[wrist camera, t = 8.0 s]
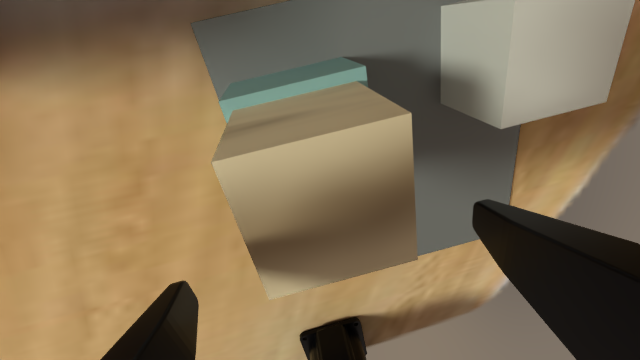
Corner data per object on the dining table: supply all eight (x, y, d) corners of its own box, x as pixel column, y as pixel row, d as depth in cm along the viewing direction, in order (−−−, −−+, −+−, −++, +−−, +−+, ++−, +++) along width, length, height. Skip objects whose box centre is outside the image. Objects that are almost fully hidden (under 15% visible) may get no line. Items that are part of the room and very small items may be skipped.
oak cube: (370, 187, 17) (417, 259, 11) (268, 213, 16) (269, 300, 11) (356, 81, 14) (411, 113, 9) (232, 110, 14) (210, 162, 8)
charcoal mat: (500, 228, 28) (505, 232, 27) (289, 286, 27) (289, 291, 26) (538, -56, 17) (546, -59, 17) (192, 23, 16) (190, 23, 16)
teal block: (356, 157, 21) (380, 190, 17) (264, 181, 21) (263, 221, 17) (341, 56, 18) (365, 65, 14) (230, 83, 18) (218, 101, 13)
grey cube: (520, 83, 21) (606, 101, 15) (440, 103, 20) (500, 129, 15) (533, -16, 18) (644, -35, 13) (440, 6, 18) (515, -4, 12)
